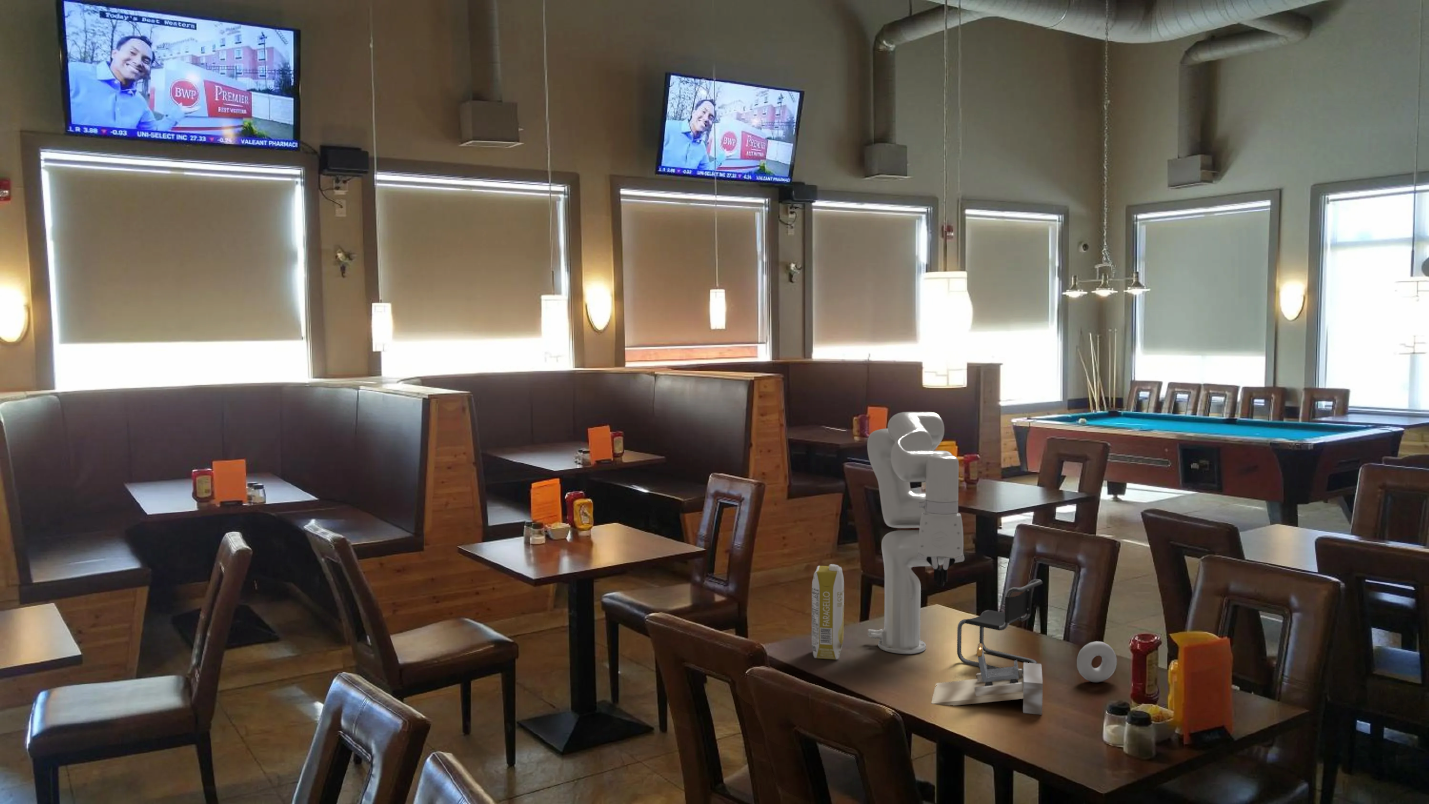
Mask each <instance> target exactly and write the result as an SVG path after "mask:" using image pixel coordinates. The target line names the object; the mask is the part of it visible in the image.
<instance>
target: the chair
mask: <svg viewBox="0 0 1429 804" xmlns="http://www.w3.org/2000/svg"><path fill="white" fill-rule="evenodd" d="M1040 585H1043V581H1042V580H1041V579H1038V578H1035V579H1032V580H1030V581H1029V582H1028V583H1027V584H1026V585H1025V586H1021V587H1017V586H1016V587H1010V588H1008V590H1006V593H1005V596H1004V612H1002V611H998V610H991V609H987V610H984V611H982V613H981V614H980V615H979V616H976V617H972V618H967V619H966V618H963V619H962V620H960V621H959V622H958V623H957V627H956V628H957V630H956V654H957V658H958V659H959V660H960V662H962V663H964V664H965V665H969V666H974V667H978V668H980V666H979V661H974V660H969V659H966V658H965V657H964V656H963V654H962V635H963V634H962V631H963V630H962V629H963V625H965V624H966V625H971V626H976V627H979V641H978V642H979V643H981V644H983V651H984V653H987V654H991V655H995V656H999V657H1003V658H1007V659H1012V660H1015V659H1016V660H1017V661H1021V662H1025V663H1028V662H1029V663H1036V664H1039V663H1038V661H1036V660H1035V659H1033V658H1029V657H1024V656H1019V655H1015V654H1011V653H1007V652H1003V651H997V650H993V649H990V648H988V647H986V645H985V643H984V640H985V639H984V638H985V637H984V636H985V635H984V634H985V633H984V630H985V628H986V629H990V630H995V631H1004V630H1007V628H1008V627H1009V625H1010V624H1012V623H1014V622H1016V621H1020V622H1023V621H1026V620H1028V619H1029V618H1030V617H1031V615H1032V594H1033V593H1032V589H1033V588H1035V587H1038V586H1040ZM1014 592H1015V593H1020V594H1018V595H1016V596H1011V594H1013V593H1014ZM986 666H987V669H996V668H1001V667H1000V666H995V665H991V664H987V663H986ZM1021 669H1022V674H1023V668H1021Z"/></svg>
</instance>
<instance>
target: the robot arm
mask: <svg viewBox="0 0 1429 804" xmlns="http://www.w3.org/2000/svg"><path fill="white" fill-rule="evenodd" d="M944 435H945V424H944V421H943V419H942V417H940V414H938V413H936V412H934V411H933V412H932V411H902V412H898V413H896V414H894V415H892V417H890V419H889V420H888V423H887V428H881V429H876V430H874V431H872V432H870V434H869V435H868V439H867V441H866V442H867V443H866V445H867V446H866V447H867V455H868V460H869V462H870V466H871V468H872V470H873V472H874V475H875V477H876V480H877V484H878V491H879V497H880V506H881V513H882V517H883V521H884V523H885V524H886V526H888V527H891V528H895V529H896V528H897V529H900V530H894V531H890V532H888V533H886V534H885V535H884V536H883V537H882V539H881V552H882V553H881V554H882V560H883V568H884V569H883V570H884V623H883V624H884V625H883V626H884V627H883V628H880V629H879V630H878V629H873V628H872V629H871V628H869V629H867V636H868V637H870V639H879V640H878V642H877V645H878V647H879V649H880V650H883V651H885V652H888V653H893V654H899V655H913V654H920V653H923V652H924V651H926V649H927V644H926V642H924V641H923V640H922V639H921V602H922V601H921V599H922V598H921V593H922V592H921V591H922V589H921V586H922V584H921V581H920V578H919V577H918V575H916V574H915V572H914V571H913V570H912V568H913V567H914V568H915V567H932V568H933V582H936V586H937V587H944V586H945V583H948V569H949V568H950V567H951V566H953V565H954V564H956V563H961V562H962V563H963V562H964V561H965V556H964V526H963V520H962V518H963V517H962V514H961V513H959V473H960V472H959V471H960V468H959V467H960V466H959V465H960V463H959V458H958V457H956V456H955V455H953V454H952V453H951V452H950V451H947V450H936V449H937V448H938V446H939V445H941V442H942V440H943V439H944ZM921 482H922V483H924V482H925V489H924V490H925V492H914V491H912V489H911V483H921ZM911 528H912V529H911ZM915 528H919V530H918V529H917V530H915ZM901 529H902V530H901ZM903 529H905V530H903ZM906 529H909V530H906ZM910 529H911V530H910Z"/></svg>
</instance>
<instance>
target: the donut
mask: <svg viewBox="0 0 1429 804" xmlns="http://www.w3.org/2000/svg"><path fill="white" fill-rule="evenodd" d="M1097 656H1100V657H1101V663H1100V665H1099V666H1098V667H1093V665H1092V662H1093V660H1094V658H1095V657H1097ZM1117 664H1118V660H1117V655H1116V653H1115V651H1114V649H1113V648H1112V646H1110V645H1109V644H1107V643H1105V642H1103V641H1099V640H1098V641H1097V640H1096V641H1091V642H1088V643H1086V644H1085V645H1084V646H1083V647H1082V648H1081V649H1080V650H1079V652H1078V655H1077V658H1076V667H1077V668H1076V669H1077V670H1078V673H1079V675H1081V677H1083V679H1084V680H1087V681H1089V682H1090V683H1091V682H1092V683H1101V682H1105V681H1106V680H1108V679H1109V678H1111V676H1112V675H1113V674H1114V672H1115V671H1116V668H1117Z"/></svg>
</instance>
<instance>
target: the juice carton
mask: <svg viewBox="0 0 1429 804" xmlns="http://www.w3.org/2000/svg"><path fill="white" fill-rule="evenodd" d="M811 583H812V584H811V648H812V655H813V658H814V659H820V660H821V659H824V660H839V659H840V655H841V651H842V647H843V644H844V631H845V630H844V620H845V619H844V618H845V617H844V615H845V614H844V612H845V604H844V603H845V581H844V574H843V568H842V566H839V565H838V564H834V563H831V564H829V565H818V566H816V570H815V571H814V573H813V578H812V582H811Z"/></svg>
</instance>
